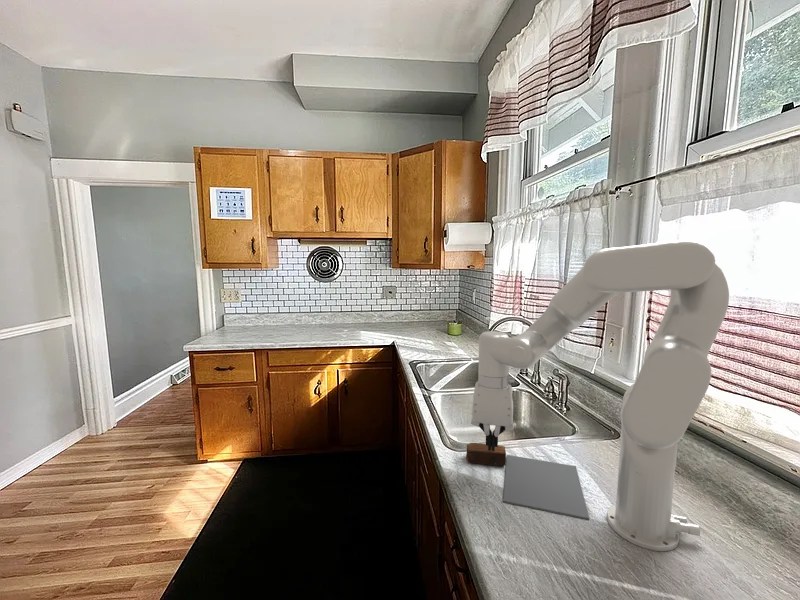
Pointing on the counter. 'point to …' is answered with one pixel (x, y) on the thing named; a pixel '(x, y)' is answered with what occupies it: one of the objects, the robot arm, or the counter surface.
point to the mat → (544, 486)
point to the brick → (485, 454)
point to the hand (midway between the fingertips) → (491, 448)
